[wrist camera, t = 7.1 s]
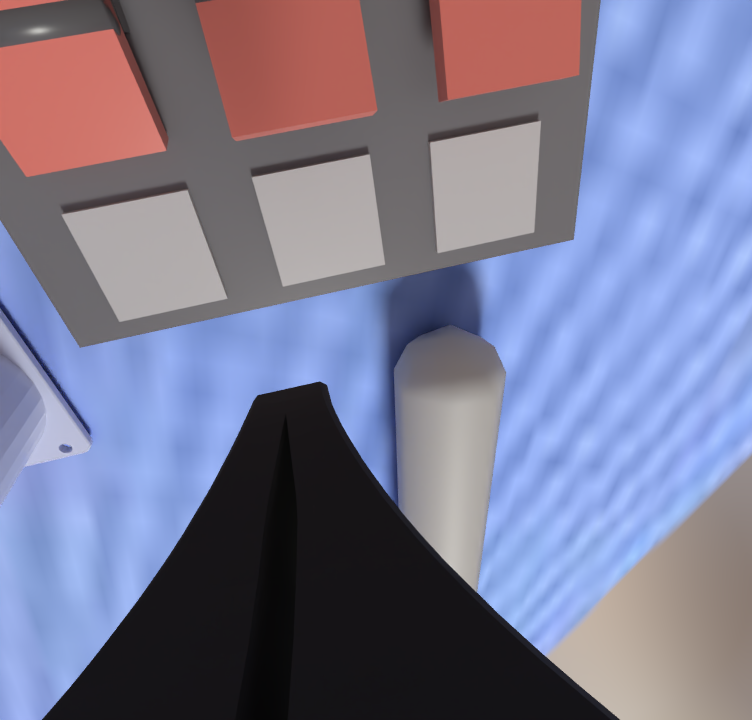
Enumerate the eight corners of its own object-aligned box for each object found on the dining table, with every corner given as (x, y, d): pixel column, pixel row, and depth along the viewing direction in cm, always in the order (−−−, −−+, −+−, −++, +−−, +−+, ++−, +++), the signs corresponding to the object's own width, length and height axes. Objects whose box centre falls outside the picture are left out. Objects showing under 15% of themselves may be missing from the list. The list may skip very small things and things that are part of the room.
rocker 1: (35, 161, 12) (24, 180, 12) (-192, -179, 8) (-232, -181, 7) (168, 136, 13) (166, 154, 12) (24, -205, 8) (5, -210, 7)
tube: (379, 371, 17) (396, 671, 31) (526, 376, 16) (476, 681, 30) (393, 306, 22) (402, 594, 35) (509, 307, 21) (472, 601, 35)
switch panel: (101, 313, 18) (73, 357, 15) (-147, -128, 11) (-276, -185, 8) (541, 219, 19) (583, 245, 16) (571, -223, 12) (651, -297, 10)
